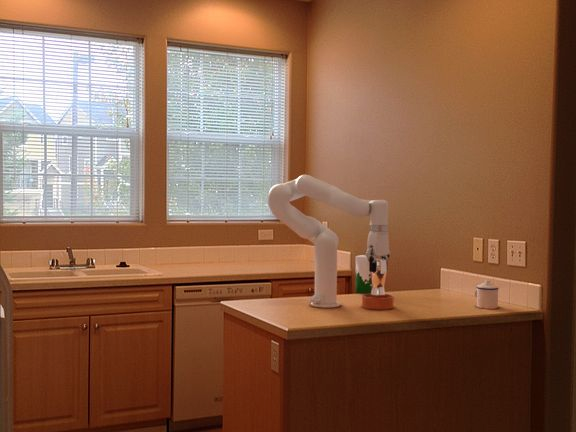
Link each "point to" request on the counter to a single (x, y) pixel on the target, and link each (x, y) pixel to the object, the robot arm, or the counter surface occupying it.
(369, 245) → the robot arm
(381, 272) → the beer glass
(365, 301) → the bowl
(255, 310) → the counter surface
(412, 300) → the counter surface
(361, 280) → the milk carton
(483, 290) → the teacup with lid
